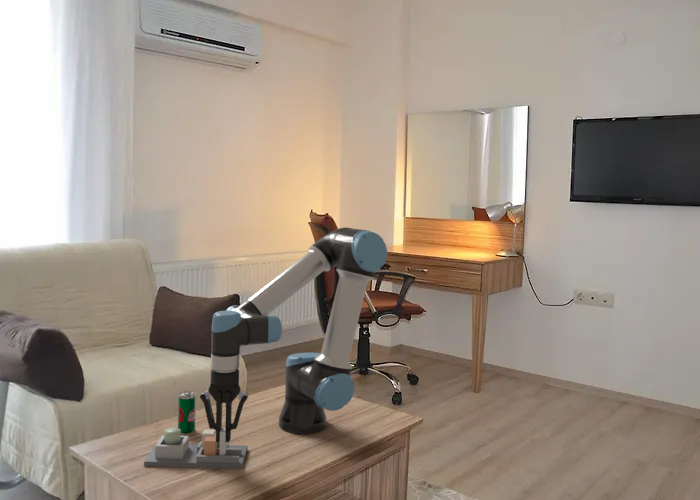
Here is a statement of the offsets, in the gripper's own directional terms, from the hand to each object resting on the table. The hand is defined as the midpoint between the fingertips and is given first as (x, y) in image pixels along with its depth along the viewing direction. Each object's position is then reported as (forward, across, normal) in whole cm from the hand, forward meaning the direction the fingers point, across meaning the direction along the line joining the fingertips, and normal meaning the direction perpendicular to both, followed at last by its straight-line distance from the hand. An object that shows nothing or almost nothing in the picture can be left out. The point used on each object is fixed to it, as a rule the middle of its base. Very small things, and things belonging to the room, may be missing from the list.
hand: (222, 452), depth 174 cm
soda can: (+3, +14, -21) cm, 25 cm away
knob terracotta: (+1, +3, 0) cm, 4 cm away
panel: (+3, +7, -3) cm, 8 cm away
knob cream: (+1, +5, -5) cm, 7 cm away
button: (-2, +14, -3) cm, 15 cm away
